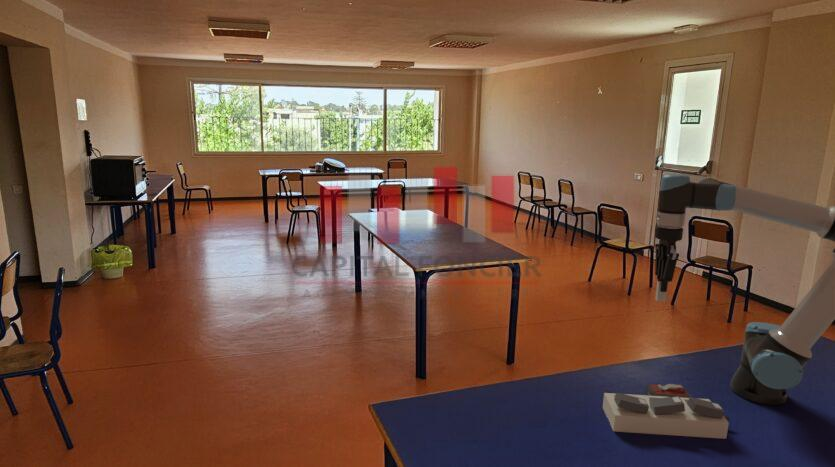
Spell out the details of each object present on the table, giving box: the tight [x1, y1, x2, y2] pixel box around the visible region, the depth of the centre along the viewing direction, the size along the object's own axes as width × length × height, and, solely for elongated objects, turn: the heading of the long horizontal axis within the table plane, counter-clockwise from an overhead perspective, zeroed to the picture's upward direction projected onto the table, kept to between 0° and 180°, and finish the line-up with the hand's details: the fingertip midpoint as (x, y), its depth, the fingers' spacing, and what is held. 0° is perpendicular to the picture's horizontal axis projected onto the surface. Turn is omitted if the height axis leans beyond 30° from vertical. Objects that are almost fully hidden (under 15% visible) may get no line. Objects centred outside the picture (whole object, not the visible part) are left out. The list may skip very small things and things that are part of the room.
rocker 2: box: [649, 396, 685, 415], centre depth 144 cm, size 8×4×3 cm, turn 84°
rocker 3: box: [687, 396, 726, 419], centre depth 143 cm, size 8×4×3 cm, turn 85°
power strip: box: [602, 392, 730, 440], centre depth 148 cm, size 33×12×5 cm, turn 84°
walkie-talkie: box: [645, 383, 692, 398], centre depth 161 cm, size 9×4×20 cm
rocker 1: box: [614, 392, 649, 414], centre depth 145 cm, size 8×4×3 cm, turn 85°
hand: (660, 300), depth 160 cm, fingers closed
